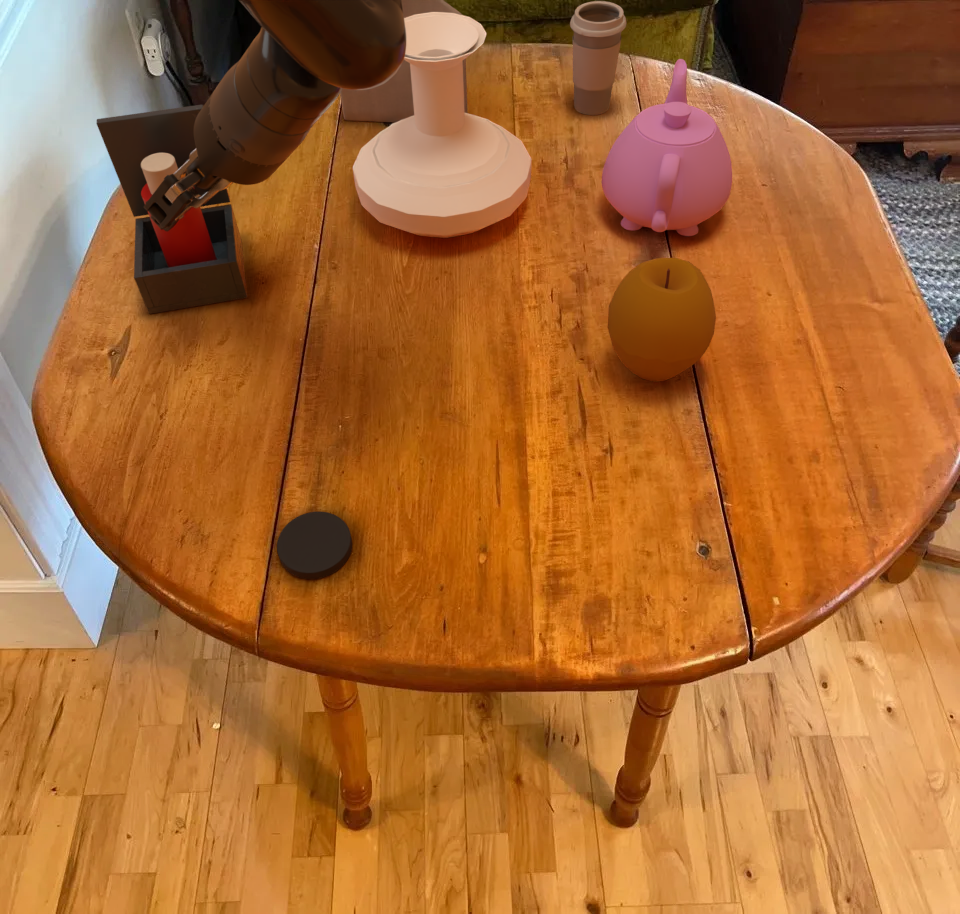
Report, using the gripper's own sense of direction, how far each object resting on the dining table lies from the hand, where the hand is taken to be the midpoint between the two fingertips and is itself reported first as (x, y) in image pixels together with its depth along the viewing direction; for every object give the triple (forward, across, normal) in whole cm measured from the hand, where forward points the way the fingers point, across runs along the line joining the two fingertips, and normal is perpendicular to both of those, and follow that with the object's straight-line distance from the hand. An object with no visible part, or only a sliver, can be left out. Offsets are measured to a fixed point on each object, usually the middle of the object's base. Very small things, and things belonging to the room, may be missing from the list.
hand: (192, 198), depth 84 cm
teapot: (-16, -36, +32) cm, 51 cm away
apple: (-24, -12, +39) cm, 47 cm away
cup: (-4, -52, +20) cm, 56 cm away
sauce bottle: (+10, 0, +5) cm, 11 cm away
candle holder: (-1, -24, +17) cm, 30 cm away
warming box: (+10, 0, +5) cm, 11 cm away
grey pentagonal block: (+10, -40, +6) cm, 42 cm away
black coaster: (-13, +21, +28) cm, 38 cm away
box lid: (+5, -3, -5) cm, 7 cm away
